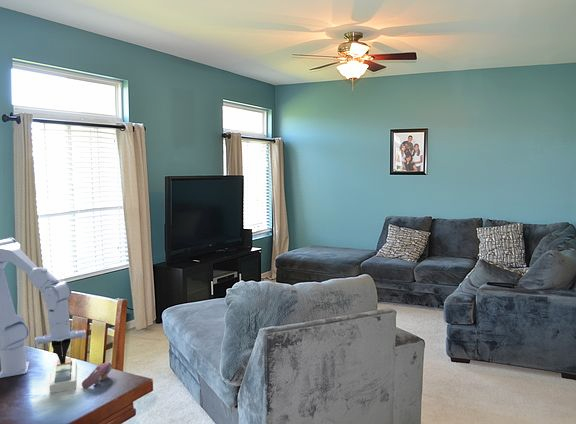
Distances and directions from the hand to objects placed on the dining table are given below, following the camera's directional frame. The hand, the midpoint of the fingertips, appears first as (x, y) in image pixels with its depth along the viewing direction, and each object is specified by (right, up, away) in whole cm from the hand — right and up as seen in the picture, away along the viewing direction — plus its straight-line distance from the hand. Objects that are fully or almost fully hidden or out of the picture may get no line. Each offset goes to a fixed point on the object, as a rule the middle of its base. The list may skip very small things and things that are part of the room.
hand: (62, 362), depth 156 cm
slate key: (+2, -4, -5) cm, 7 cm away
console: (0, -5, +1) cm, 5 cm away
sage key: (0, -4, 0) cm, 4 cm away
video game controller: (+12, -6, -2) cm, 14 cm away
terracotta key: (-2, -3, +6) cm, 7 cm away
